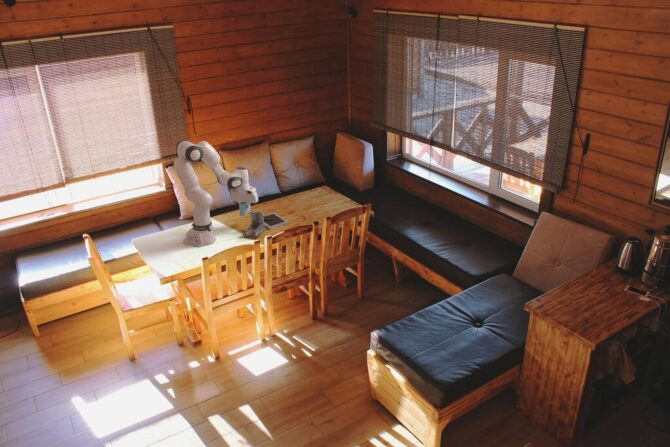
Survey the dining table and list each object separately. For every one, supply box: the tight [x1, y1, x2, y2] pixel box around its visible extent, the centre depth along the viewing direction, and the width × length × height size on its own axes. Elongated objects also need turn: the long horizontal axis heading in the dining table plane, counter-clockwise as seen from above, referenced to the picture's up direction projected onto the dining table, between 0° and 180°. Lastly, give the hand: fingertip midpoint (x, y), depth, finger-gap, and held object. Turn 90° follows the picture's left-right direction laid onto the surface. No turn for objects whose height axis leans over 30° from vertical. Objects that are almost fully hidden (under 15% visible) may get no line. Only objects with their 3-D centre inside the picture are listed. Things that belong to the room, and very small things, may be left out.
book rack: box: [243, 210, 266, 240], centre depth 405 cm, size 10×15×14 cm, turn 164°
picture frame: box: [263, 212, 289, 230], centre depth 424 cm, size 16×3×21 cm
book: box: [238, 202, 252, 217], centre depth 411 cm, size 4×11×8 cm, turn 164°
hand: (244, 207), depth 411 cm, fingers closed on book, 3 cm apart
